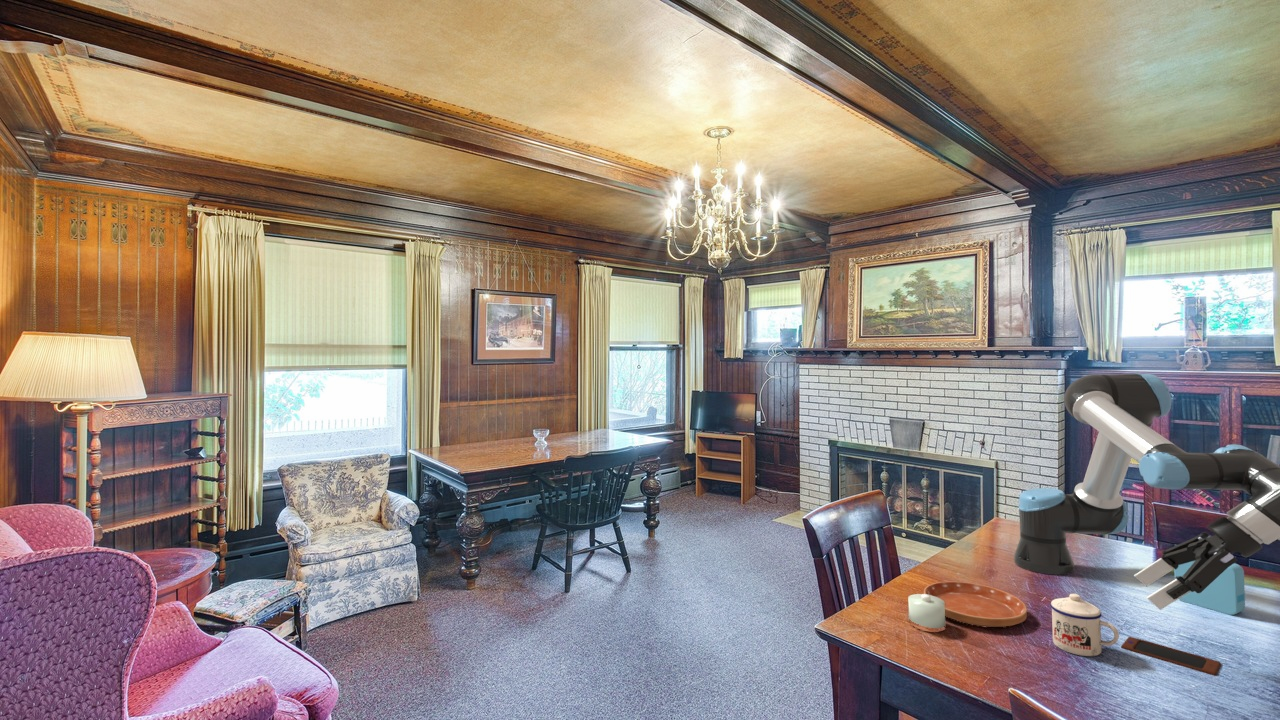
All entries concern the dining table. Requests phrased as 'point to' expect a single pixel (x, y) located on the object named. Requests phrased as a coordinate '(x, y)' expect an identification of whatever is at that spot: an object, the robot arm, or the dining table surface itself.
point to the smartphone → (1172, 655)
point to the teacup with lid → (1078, 626)
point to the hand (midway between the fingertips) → (1146, 591)
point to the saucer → (978, 604)
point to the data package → (1219, 590)
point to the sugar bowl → (927, 610)
